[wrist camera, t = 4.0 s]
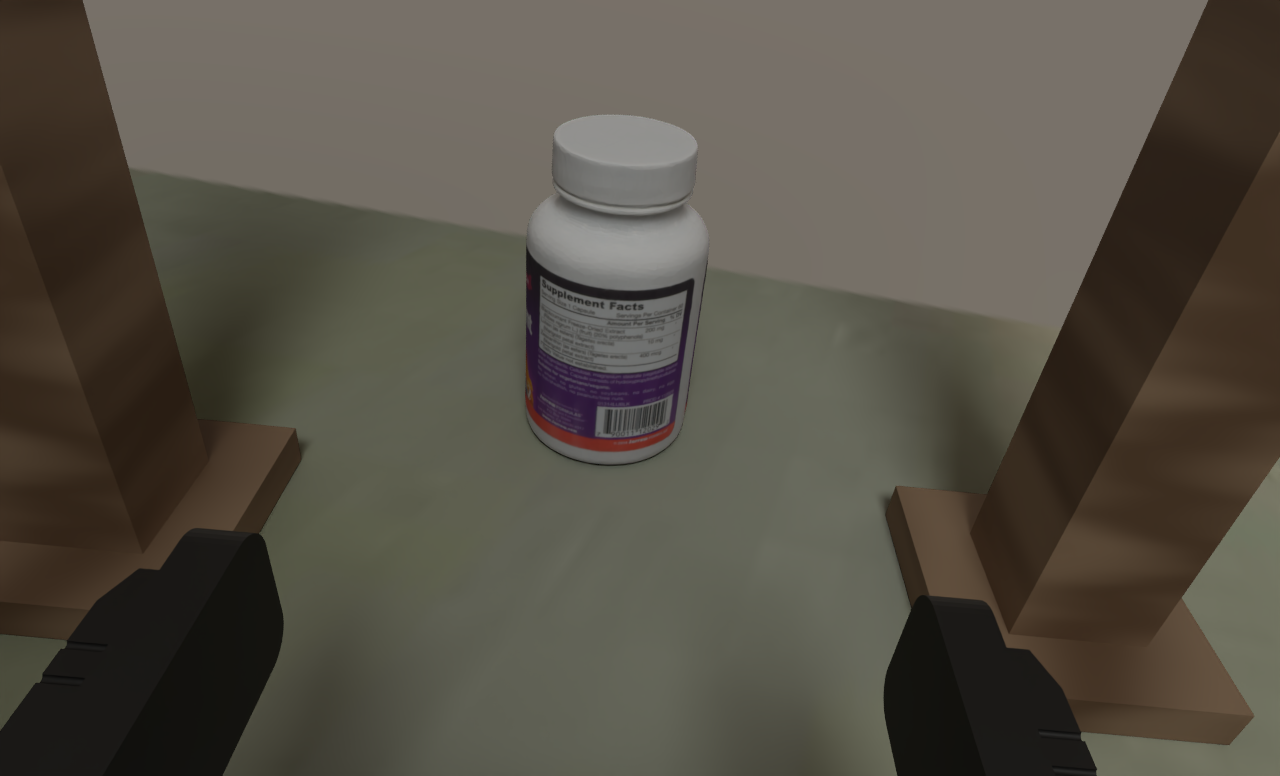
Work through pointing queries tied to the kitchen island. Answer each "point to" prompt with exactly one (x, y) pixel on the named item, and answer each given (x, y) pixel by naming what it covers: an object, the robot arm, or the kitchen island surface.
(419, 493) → the kitchen island surface
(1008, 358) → the kitchen island surface
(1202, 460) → the walnut post
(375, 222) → the kitchen island surface
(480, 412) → the kitchen island surface
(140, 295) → the walnut post
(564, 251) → the pill bottle
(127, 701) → the robot arm
